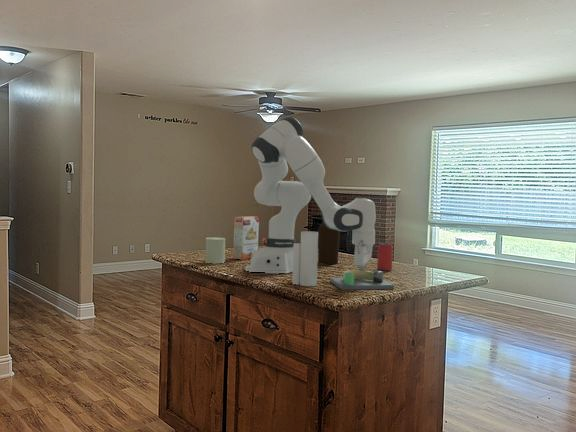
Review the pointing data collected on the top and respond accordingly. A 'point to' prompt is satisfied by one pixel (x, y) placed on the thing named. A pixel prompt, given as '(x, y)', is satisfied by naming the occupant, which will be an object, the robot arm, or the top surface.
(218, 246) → the can
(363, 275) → the spice jar
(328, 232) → the olive oil
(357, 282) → the gauge board
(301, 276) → the candle
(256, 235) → the cracker box
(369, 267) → the top surface
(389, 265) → the beer can
